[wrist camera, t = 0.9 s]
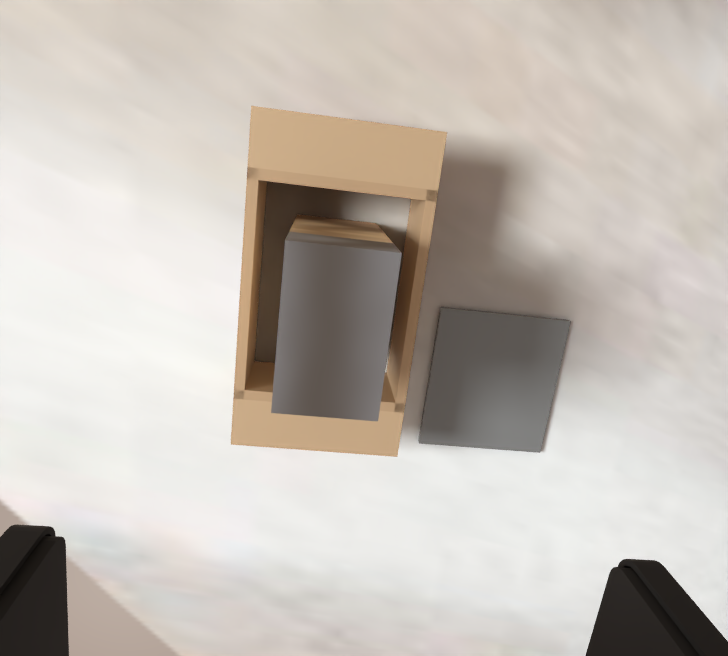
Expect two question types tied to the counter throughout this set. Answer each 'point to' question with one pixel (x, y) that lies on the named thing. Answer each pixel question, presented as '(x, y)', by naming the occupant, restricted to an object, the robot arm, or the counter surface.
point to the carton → (419, 183)
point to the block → (334, 318)
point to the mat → (492, 380)
